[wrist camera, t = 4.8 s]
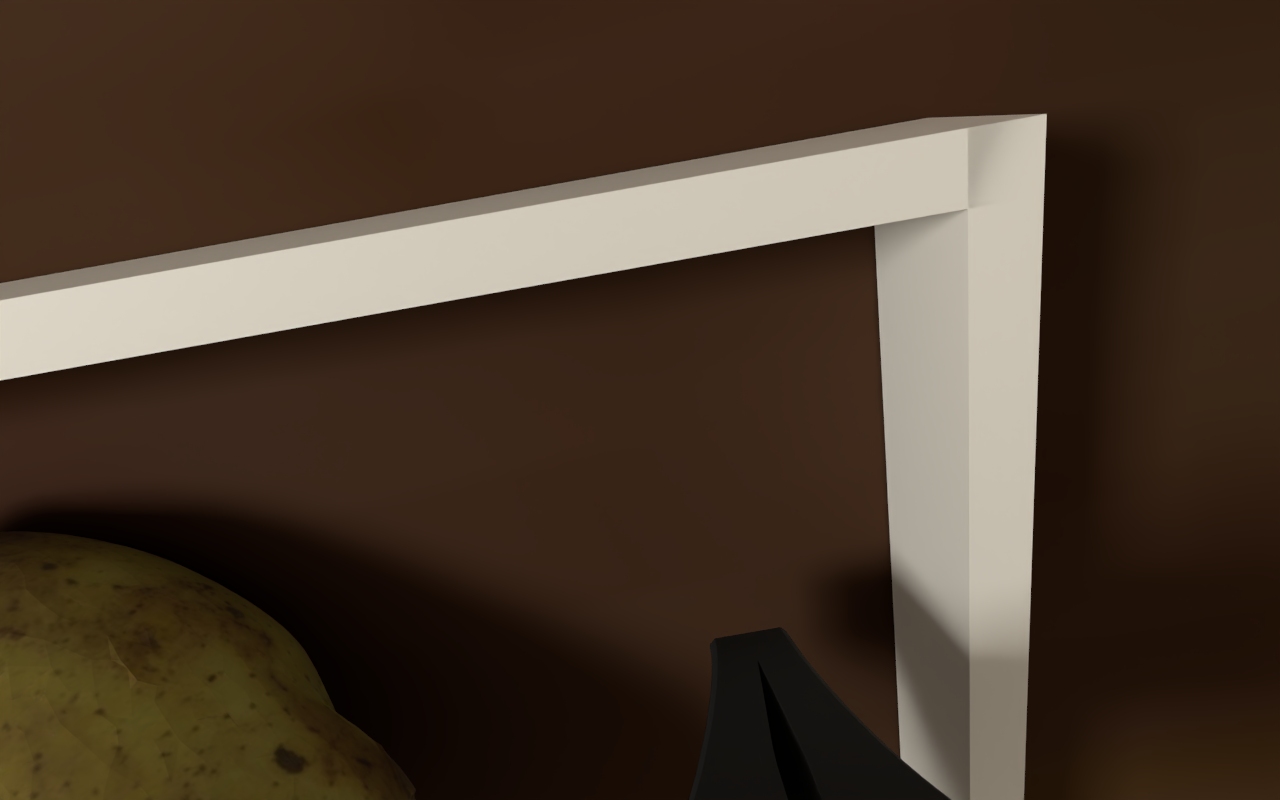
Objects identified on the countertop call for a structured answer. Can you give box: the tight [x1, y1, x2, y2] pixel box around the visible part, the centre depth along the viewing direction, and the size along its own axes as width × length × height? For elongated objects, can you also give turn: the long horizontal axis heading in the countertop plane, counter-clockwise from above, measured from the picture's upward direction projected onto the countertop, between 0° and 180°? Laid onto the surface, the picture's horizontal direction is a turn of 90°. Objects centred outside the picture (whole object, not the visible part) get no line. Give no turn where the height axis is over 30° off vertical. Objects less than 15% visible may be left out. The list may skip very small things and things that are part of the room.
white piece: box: [0, 114, 1047, 800], centre depth 14 cm, size 18×22×4 cm
